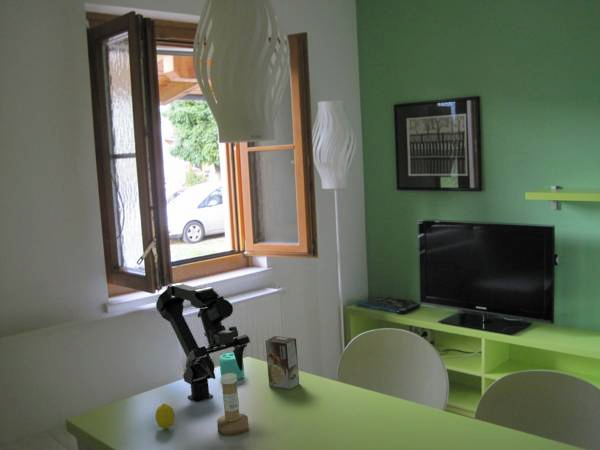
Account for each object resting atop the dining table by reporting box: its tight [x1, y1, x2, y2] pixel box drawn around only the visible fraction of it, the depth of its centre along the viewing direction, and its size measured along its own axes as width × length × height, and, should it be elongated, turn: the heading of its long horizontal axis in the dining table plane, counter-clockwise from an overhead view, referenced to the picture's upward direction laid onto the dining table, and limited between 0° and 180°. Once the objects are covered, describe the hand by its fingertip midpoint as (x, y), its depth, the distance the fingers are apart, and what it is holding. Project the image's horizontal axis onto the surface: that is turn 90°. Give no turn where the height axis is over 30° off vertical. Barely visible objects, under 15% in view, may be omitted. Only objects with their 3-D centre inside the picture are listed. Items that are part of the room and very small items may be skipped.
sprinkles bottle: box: [220, 373, 240, 422], centre depth 196 cm, size 5×5×14 cm
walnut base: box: [216, 412, 249, 437], centre depth 197 cm, size 9×9×3 cm
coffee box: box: [265, 335, 300, 390], centre depth 229 cm, size 9×6×16 cm
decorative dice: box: [218, 352, 245, 381], centre depth 240 cm, size 8×8×8 cm
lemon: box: [155, 403, 176, 430], centre depth 200 cm, size 6×6×8 cm
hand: (228, 374), depth 206 cm, fingers open, 9 cm apart
